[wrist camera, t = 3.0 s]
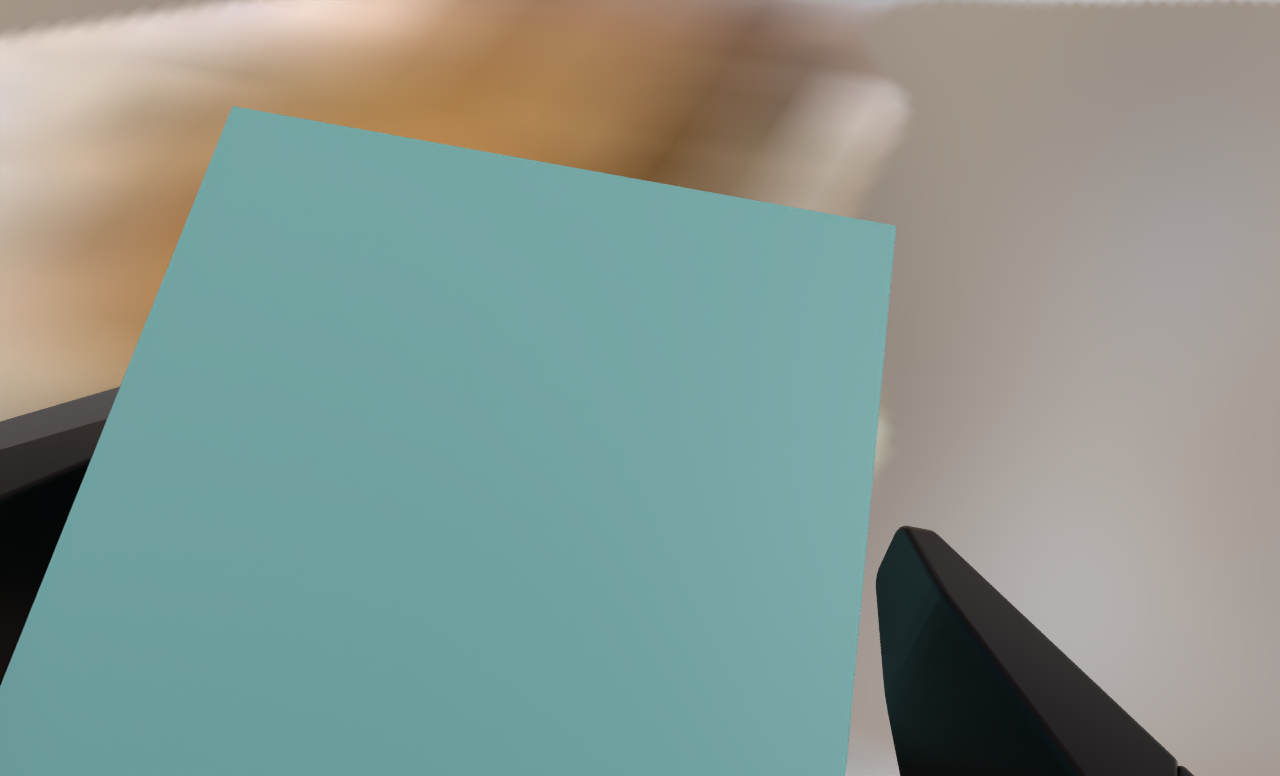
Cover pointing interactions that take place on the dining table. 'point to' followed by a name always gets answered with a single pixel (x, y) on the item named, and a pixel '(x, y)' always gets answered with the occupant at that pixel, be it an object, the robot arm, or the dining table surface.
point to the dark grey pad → (57, 418)
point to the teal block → (468, 481)
